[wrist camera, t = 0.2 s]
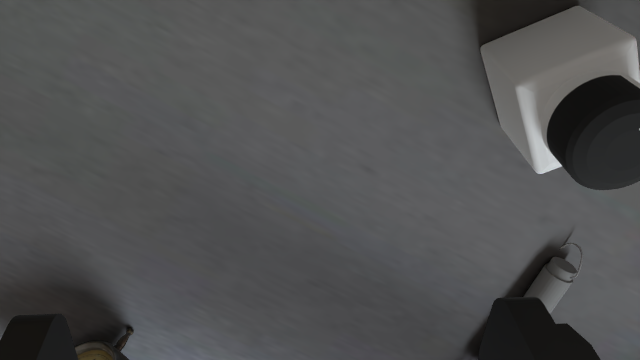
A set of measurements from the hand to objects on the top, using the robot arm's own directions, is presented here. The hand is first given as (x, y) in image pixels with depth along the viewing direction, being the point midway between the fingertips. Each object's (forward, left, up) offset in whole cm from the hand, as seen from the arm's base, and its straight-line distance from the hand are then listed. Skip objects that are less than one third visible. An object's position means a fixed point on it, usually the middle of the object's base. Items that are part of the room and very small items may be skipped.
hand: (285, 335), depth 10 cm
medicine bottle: (+5, +19, -29) cm, 35 cm away
